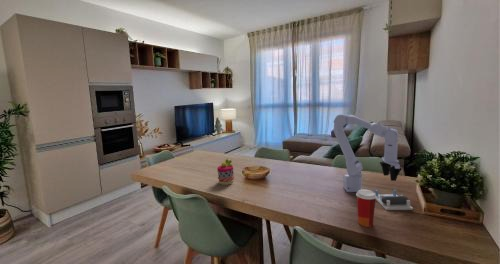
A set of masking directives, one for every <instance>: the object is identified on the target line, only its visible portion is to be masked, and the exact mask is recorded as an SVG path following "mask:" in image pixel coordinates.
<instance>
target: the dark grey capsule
mask: <svg viewBox="0 0 500 264" xmlns="http://www.w3.org/2000/svg"><path fill="white" fill-rule="evenodd" d="M387 200H390V204H406V202H407V200H409V198H408V197H407V196H406V195H405V196H404V195H403V196H399V195H398V196H386V197H383V198H382V202H383V203H384V204H387Z"/></svg>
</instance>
